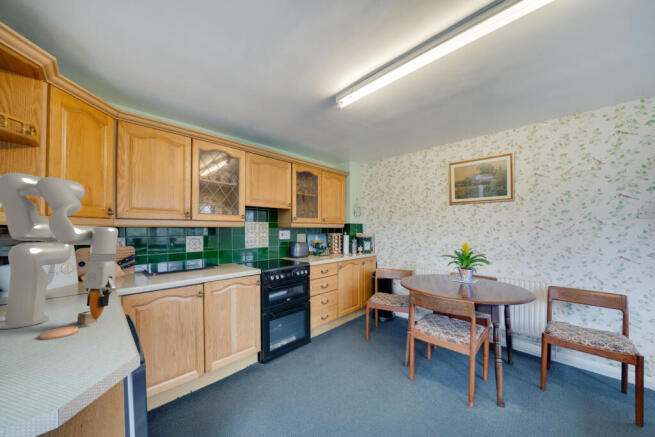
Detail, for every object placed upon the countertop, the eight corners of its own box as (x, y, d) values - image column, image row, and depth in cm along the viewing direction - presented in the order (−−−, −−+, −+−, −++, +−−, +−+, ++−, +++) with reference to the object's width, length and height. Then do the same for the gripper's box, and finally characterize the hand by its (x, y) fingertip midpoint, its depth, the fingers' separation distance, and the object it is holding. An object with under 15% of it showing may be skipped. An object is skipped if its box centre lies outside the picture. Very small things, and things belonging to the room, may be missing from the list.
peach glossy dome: (32, 338, 81) (32, 334, 81) (66, 328, 90) (67, 325, 90) (51, 340, 79) (51, 337, 79) (84, 330, 88) (84, 327, 88)
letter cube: (77, 324, 95) (78, 312, 95) (89, 320, 99) (90, 309, 99) (84, 325, 94) (85, 313, 94) (96, 321, 98) (97, 310, 98)
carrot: (93, 322, 90) (98, 281, 92) (83, 321, 91) (87, 280, 93) (107, 318, 95) (112, 279, 96) (97, 317, 96) (102, 278, 97)
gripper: (75, 257, 94) (69, 306, 92) (108, 260, 89) (102, 310, 88) (97, 256, 101) (92, 301, 99) (129, 258, 97) (124, 305, 95)
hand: (97, 305), depth 94 cm, fingers closed on carrot, 5 cm apart
